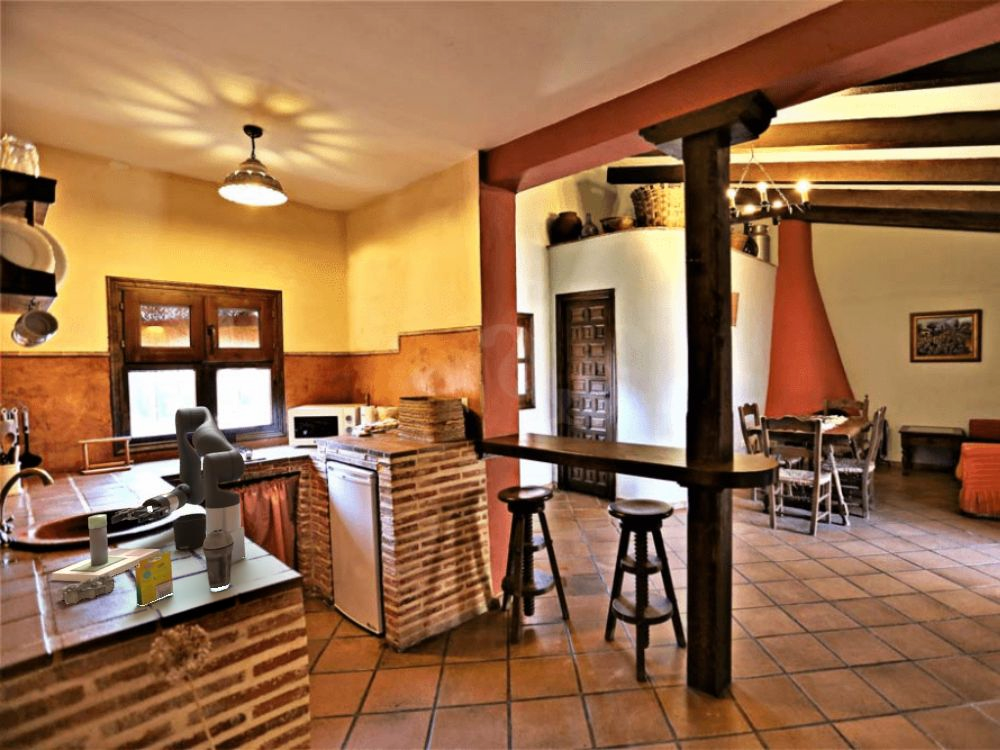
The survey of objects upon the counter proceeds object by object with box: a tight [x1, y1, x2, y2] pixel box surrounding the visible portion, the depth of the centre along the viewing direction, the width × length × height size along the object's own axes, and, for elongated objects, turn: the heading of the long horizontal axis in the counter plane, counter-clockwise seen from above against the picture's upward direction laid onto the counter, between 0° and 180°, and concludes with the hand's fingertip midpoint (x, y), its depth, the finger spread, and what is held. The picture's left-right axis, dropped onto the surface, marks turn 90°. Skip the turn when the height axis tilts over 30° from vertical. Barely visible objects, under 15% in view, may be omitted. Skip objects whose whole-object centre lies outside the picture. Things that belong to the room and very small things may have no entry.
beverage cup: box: [202, 512, 234, 589], centre depth 132 cm, size 7×7×20 cm
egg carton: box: [60, 573, 117, 604], centre depth 131 cm, size 11×8×4 cm
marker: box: [87, 514, 109, 566], centre depth 147 cm, size 4×4×14 cm
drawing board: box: [51, 547, 161, 582], centre depth 150 cm, size 16×20×2 cm
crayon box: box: [134, 551, 174, 605], centre depth 126 cm, size 7×3×12 cm, turn 150°
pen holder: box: [172, 512, 207, 552], centre depth 166 cm, size 9×9×10 cm
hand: (125, 520), depth 158 cm, fingers open, 8 cm apart
